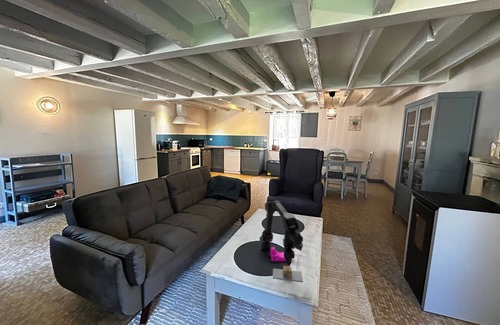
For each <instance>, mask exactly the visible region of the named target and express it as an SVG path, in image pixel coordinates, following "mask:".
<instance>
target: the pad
mask: <svg viewBox="0 0 500 325" xmlns="http://www.w3.org/2000/svg"><path fill="white" fill-rule="evenodd" d="M302 274H303V273H302V271H300V270H292V278H291V277H283V269H282V268H272V279H276V280H286V281H294V282H295V281H296V282H300V283H301V282H304V281H303V280H304V279H303V276H302Z"/></svg>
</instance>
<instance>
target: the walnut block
mask: <svg viewBox="0 0 500 325" xmlns="http://www.w3.org/2000/svg"><path fill="white" fill-rule="evenodd" d="M282 270H283V277H291V278H292V271H293V269H292V266H289V265H283V269H282Z"/></svg>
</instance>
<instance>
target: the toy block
mask: <svg viewBox="0 0 500 325" xmlns="http://www.w3.org/2000/svg"><path fill="white" fill-rule="evenodd" d="M269 255H270V258H271V260H270V261H272V262H286V260H285V258H284V251H283V252H280V251H278V250H276V247H275V246H270V253H269Z"/></svg>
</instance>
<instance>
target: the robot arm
mask: <svg viewBox="0 0 500 325" xmlns="http://www.w3.org/2000/svg"><path fill="white" fill-rule="evenodd" d="M264 210H265V212H266V215H265V223H264V224H265V225H264V230H263V231H262V233H261V235H260V236H259V238H258V239H259V242H260V243H261V246H260V247H261V249H260V251H264V252H271V242H273V239H274V234H273V232H272V226H273V219H274V214H275V213H276V212H277V213H278V215H279V216H280V218H281V220H282V223H283V228H284V234H283V239H282V240H283V242H282V245H283V252H284V258H285V260H286V261H285V262H286V266H289V265H290V263H291V261H292V260H293V259H295V256H296V254H295V251H294V250H295V249H296V250H298V251H302V250H303V247H304V244H303V241H304V237H303V235H301V232H299V231H300V226H299V224H298V221H297V219H296V216H295V215H293V214H291V213H289V212H288V210H286V208H284V205H282V203H281V200H273V201H267V202H265V204H264Z"/></svg>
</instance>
